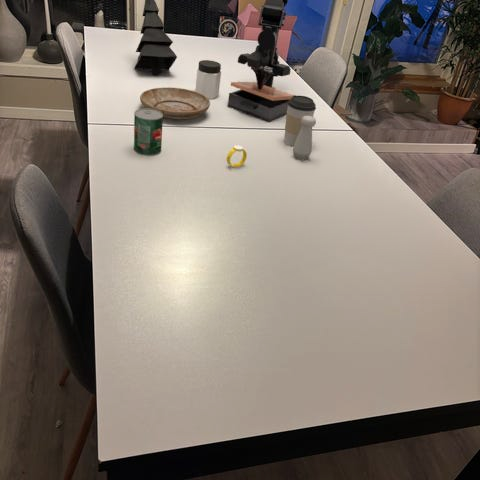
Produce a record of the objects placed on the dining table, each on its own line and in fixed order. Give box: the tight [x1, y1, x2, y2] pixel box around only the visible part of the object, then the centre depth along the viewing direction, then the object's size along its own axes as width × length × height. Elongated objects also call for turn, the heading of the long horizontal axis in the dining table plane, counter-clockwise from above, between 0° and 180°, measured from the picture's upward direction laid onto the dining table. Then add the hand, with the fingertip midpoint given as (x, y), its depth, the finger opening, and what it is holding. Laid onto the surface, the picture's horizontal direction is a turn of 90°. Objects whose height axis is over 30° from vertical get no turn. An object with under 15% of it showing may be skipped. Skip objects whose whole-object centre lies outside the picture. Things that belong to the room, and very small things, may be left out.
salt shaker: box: [292, 116, 317, 161], centre depth 152 cm, size 6×6×13 cm
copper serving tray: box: [230, 81, 293, 101], centre depth 182 cm, size 16×18×1 cm
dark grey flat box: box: [227, 89, 290, 123], centre depth 184 cm, size 18×18×5 cm
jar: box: [194, 59, 222, 100], centre depth 187 cm, size 9×8×12 cm
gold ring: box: [226, 144, 248, 168], centre depth 143 cm, size 6×3×6 cm, turn 123°
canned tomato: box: [133, 107, 164, 157], centre depth 143 cm, size 8×8×11 cm
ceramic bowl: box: [139, 86, 211, 120], centre depth 171 cm, size 23×24×5 cm
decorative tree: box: [133, 0, 178, 76], centre depth 201 cm, size 15×15×35 cm
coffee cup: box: [283, 94, 317, 148], centre depth 160 cm, size 9×9×15 cm
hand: (259, 89), depth 179 cm, fingers closed, pressing on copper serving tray
